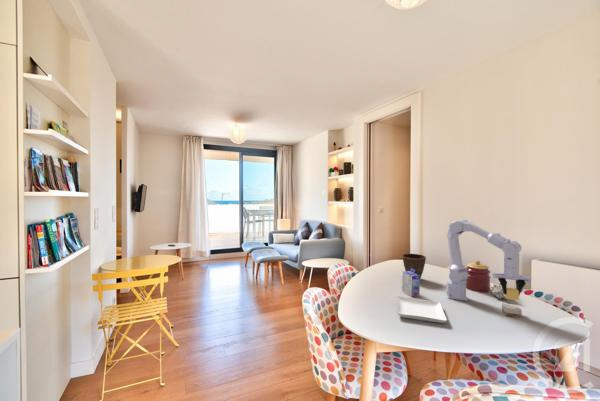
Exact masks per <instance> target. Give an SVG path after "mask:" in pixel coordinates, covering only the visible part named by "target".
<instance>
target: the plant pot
mask: <svg viewBox="0 0 600 401" xmlns="http://www.w3.org/2000/svg"><path fill="white" fill-rule="evenodd" d="M401 257H402V262H403V267H404V270H405V271H410V270H411V268H412V269H414V270H415V272H414V271H413V270H411V271H412V272H414V273H415V274H417V275H420V279H421V278H422V275H423V273H424V269H425V265H426V260H427V256H425V255H423V254H418V253H404V254H402V255H401Z"/></svg>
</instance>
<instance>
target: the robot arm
mask: <svg viewBox="0 0 600 401" xmlns="http://www.w3.org/2000/svg"><path fill="white" fill-rule="evenodd" d="M448 226H449V227H448V230H447V232H446V236H447V241H448V249H449V250H448V251H449V255H450V261H451V266H450V268H449V274H448V277H449V280H447V281H446V296H447V298H448V299H451V300H458V301H465V302H468V301H469V299H468V297H467V288H466V279H468V276H469V275H468V272H467V271H466V266H465V265H464V263H463V258H462V251H461V245H460V238H459V237H460V235H462V234H463V233H465V232H472V233H474V234H476V235H478V236H480V237H482V238H485V239H486V241H487V242H488V243H489V244H491V245H492V246H494V247H496V248H498V249H500V250H502V252H503V253H504V255H503V256H504V257H503V260H504V262H503V273H495V272H494V273H492V278H493V279H497V280H498V281H499V284H500V283H501V286H502V289H503V293H504V294H506V287H508V281H507V280H509V281H510V280H511V281H513V280H514V281H515V288H516V289H517V290H518V291H519V296H520V294H521V293H522V290H523V288H524V287H525V285H526V282H528V283H529V282H530V283H531V282H532V278H531V276H524V275H520V252H521V251H522V246H521V244H520V243H519V242H518V241H514V240H511V239H510V238H506V237H504V236H502V235H501V233H500V232H499V233H495V232H492V233H490V232H489V231H487V230H485V229H484V228H482V227H480V226H479V225H476V224H475V223H474V222H471V221H469V220H466V219H461V220H453V221H452V222H451V223H449V225H448Z"/></svg>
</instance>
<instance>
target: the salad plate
mask: <svg viewBox="0 0 600 401" xmlns="http://www.w3.org/2000/svg"><path fill="white" fill-rule="evenodd" d="M396 301H397V302H396V304H397V305H396V306H397V308H396V314H397V315H398V316H399V317H402V318H405V319H410V318H411V319H412V320H417V321H423V322H424V321H426V322H432V323H440V324H442V323H443V324H444V323H446V322H447V321H448V318H447V316H446V314H445V312H444V310H443V306H442V304H441V302H439V301H435V300H428V299H421V298H414V297H405V296H397V297H396Z"/></svg>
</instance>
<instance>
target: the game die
mask: <svg viewBox="0 0 600 401" xmlns="http://www.w3.org/2000/svg"><path fill="white" fill-rule="evenodd" d="M490 289H491V291H489V292H490V294H493V297H496V298H498V300H499V301H500V300H501V299H505V300H507V298H506V297H505V296H504V293H503V289H502V286H501V283H500V282H499V284H497V285H496V284H493V286H490Z"/></svg>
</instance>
